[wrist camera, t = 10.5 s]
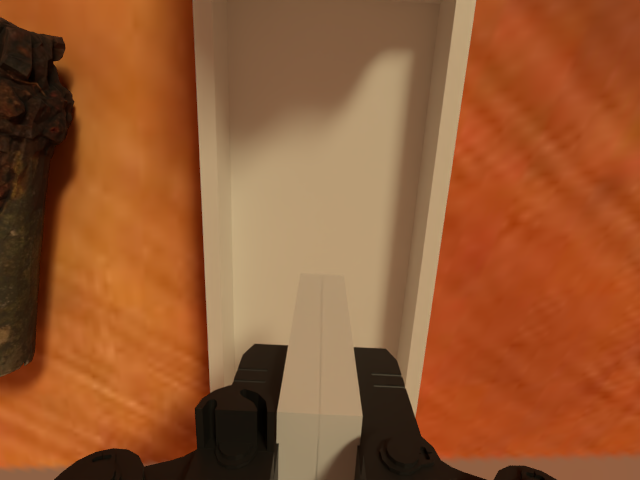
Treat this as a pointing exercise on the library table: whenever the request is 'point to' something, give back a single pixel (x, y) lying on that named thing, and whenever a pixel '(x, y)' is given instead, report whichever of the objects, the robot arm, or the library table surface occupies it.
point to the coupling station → (326, 164)
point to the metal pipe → (25, 177)
